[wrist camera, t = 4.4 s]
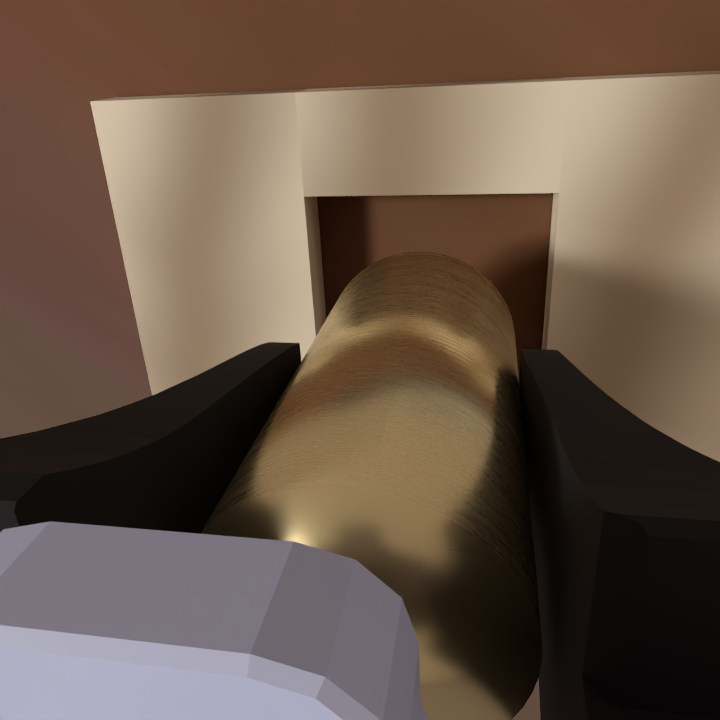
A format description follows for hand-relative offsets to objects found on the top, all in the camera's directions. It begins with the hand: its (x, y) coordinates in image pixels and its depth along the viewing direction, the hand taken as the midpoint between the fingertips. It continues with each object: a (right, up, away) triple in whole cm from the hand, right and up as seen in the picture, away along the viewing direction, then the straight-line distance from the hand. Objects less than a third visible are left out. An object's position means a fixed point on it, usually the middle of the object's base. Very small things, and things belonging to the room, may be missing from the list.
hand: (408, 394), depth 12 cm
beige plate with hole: (+1, +2, +5) cm, 5 cm away
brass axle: (0, +1, +2) cm, 2 cm away
